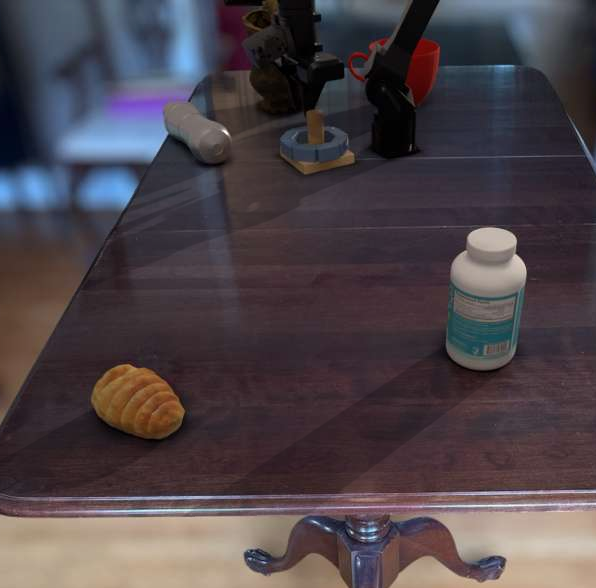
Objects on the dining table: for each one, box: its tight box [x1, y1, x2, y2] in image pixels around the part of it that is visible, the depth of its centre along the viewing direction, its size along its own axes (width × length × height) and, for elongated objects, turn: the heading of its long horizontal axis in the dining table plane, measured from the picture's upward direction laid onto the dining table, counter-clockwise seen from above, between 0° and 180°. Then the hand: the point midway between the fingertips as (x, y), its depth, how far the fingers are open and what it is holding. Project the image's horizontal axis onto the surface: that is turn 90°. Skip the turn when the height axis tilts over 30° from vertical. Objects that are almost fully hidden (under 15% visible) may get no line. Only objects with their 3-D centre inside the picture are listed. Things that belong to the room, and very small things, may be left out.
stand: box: [279, 109, 355, 176], centre depth 114 cm, size 9×9×8 cm
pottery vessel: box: [241, 0, 293, 114], centre depth 130 cm, size 25×11×20 cm, turn 175°
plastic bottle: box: [162, 100, 233, 165], centre depth 118 cm, size 6×7×20 cm
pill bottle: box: [445, 227, 527, 371], centre depth 72 cm, size 8×7×14 cm
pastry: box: [90, 363, 186, 440], centre depth 68 cm, size 9×7×4 cm
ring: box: [279, 125, 349, 163], centre depth 115 cm, size 10×10×2 cm
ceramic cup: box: [347, 37, 441, 108], centre depth 134 cm, size 13×17×10 cm
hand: (303, 114), depth 115 cm, fingers open, 3 cm apart
